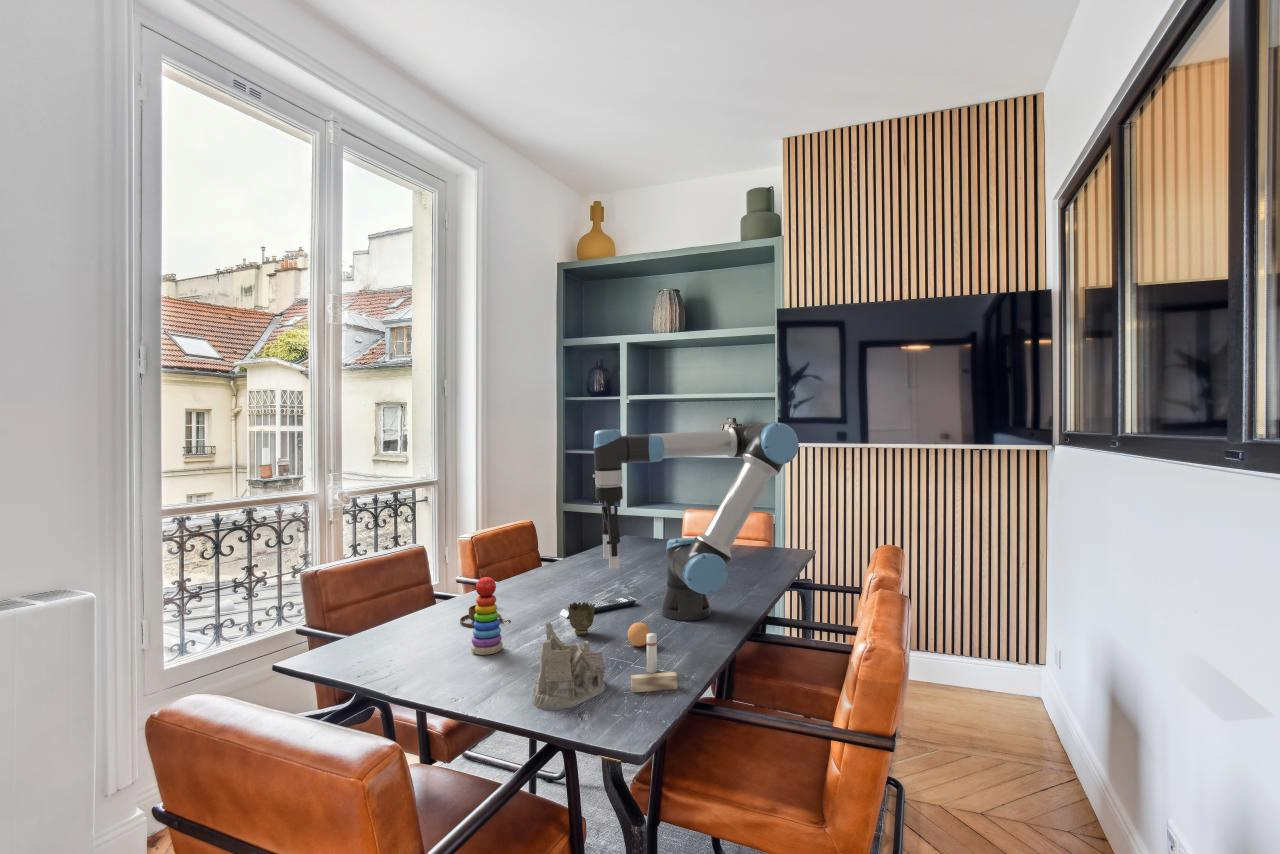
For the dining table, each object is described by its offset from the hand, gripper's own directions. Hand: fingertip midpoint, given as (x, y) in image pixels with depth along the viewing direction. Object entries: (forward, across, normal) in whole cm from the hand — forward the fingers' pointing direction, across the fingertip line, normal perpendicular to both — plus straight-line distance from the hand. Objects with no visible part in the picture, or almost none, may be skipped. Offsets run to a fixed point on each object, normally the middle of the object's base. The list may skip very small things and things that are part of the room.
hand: (611, 562), depth 174 cm
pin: (+20, +27, +6) cm, 34 cm away
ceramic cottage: (+20, +36, -14) cm, 43 cm away
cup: (+20, -2, -9) cm, 22 cm away
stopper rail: (+20, +37, +4) cm, 42 cm away
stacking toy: (+19, +6, -34) cm, 39 cm away
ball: (+17, +10, +6) cm, 20 cm away
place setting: (+20, -22, -35) cm, 46 cm away
